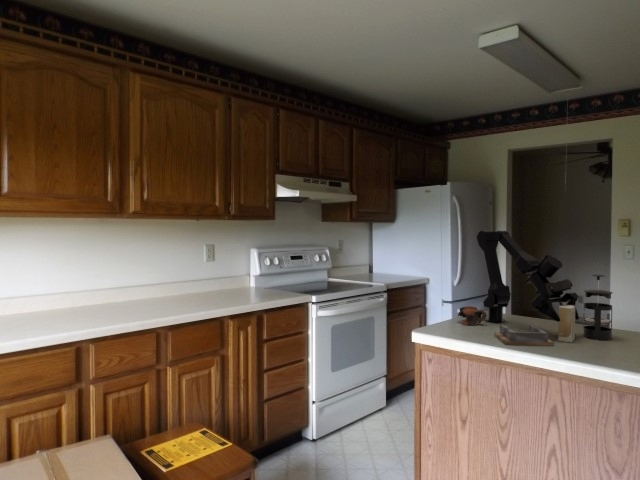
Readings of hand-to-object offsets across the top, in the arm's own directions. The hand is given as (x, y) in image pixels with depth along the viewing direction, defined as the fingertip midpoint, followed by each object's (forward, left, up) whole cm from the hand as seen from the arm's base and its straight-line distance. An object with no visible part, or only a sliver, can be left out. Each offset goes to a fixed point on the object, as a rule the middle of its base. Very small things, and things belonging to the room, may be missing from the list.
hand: (568, 320), depth 162 cm
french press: (-12, +7, -7) cm, 16 cm away
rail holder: (+10, -13, -7) cm, 18 cm away
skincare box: (0, -1, -7) cm, 8 cm away
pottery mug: (-7, -37, -8) cm, 38 cm away
